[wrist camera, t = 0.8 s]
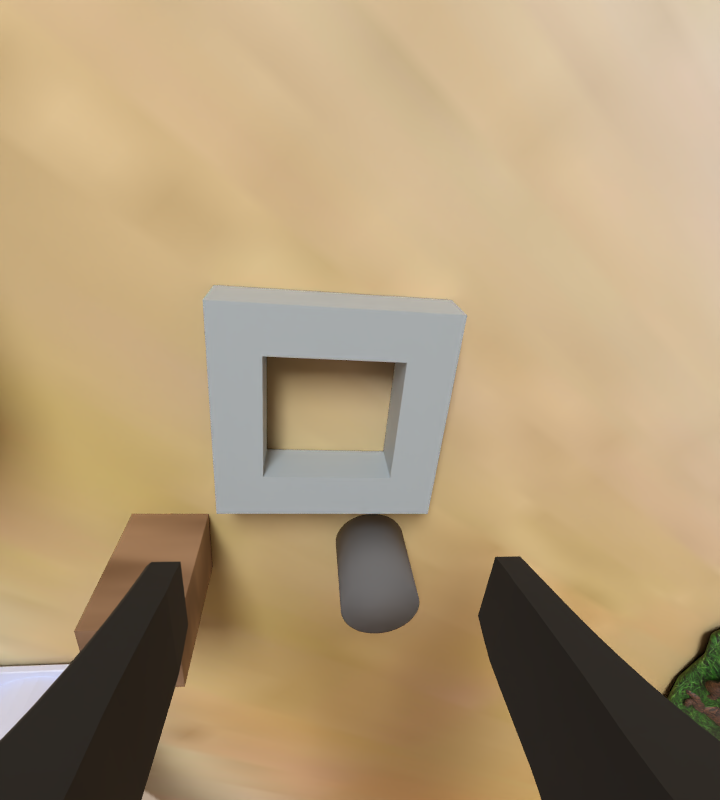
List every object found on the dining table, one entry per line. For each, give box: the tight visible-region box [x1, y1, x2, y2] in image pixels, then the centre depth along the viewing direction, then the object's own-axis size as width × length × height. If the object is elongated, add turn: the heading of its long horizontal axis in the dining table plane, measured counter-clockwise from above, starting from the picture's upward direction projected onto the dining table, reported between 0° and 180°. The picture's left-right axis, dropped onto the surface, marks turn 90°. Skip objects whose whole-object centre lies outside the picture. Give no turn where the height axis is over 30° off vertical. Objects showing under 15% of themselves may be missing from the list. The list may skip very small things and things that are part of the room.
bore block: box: [203, 285, 467, 514], centre depth 19 cm, size 9×9×2 cm
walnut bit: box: [74, 514, 213, 687], centre depth 20 cm, size 3×3×6 cm
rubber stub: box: [336, 514, 419, 633], centre depth 22 cm, size 3×3×4 cm
